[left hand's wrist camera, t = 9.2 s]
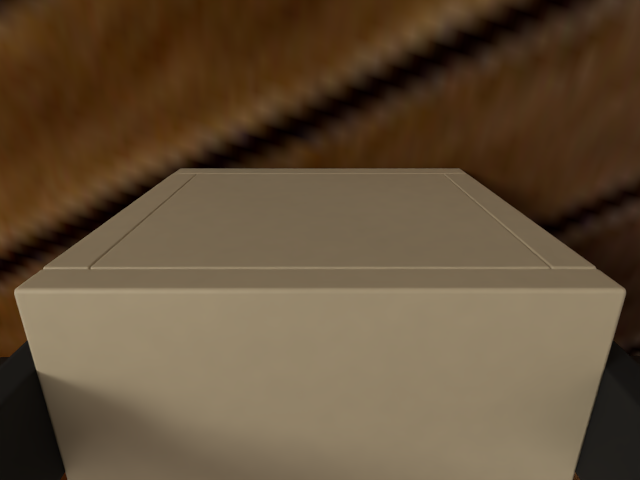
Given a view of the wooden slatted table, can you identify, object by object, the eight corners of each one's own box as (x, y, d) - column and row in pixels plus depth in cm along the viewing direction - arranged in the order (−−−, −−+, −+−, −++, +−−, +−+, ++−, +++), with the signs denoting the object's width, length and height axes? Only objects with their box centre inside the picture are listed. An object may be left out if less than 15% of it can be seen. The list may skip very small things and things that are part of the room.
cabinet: (424, 478, 23) (494, 756, 14) (216, 478, 23) (145, 756, 14) (460, 167, 17) (629, 289, 8) (179, 168, 17) (10, 289, 8)
